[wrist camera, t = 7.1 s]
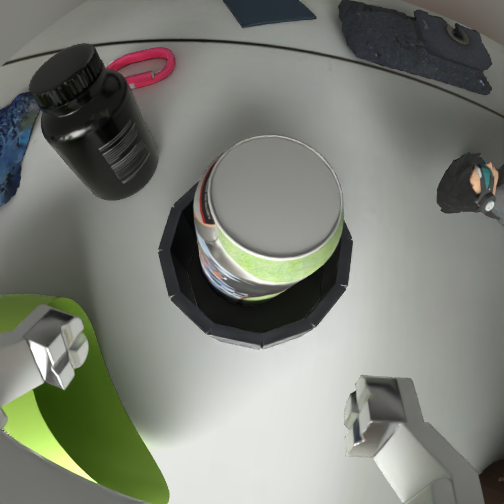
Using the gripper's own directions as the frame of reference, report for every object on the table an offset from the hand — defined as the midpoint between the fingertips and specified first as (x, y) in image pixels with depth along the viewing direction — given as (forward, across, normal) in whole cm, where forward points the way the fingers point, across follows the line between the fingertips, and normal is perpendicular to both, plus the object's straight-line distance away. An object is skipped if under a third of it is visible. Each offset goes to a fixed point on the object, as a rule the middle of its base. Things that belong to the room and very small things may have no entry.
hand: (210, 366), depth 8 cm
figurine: (+22, -26, -4) cm, 34 cm away
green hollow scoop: (+5, +13, +13) cm, 19 cm away
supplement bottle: (+18, +13, 0) cm, 22 cm away
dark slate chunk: (+37, -16, -19) cm, 45 cm away
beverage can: (+14, 0, +4) cm, 14 cm away
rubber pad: (+39, +5, -21) cm, 45 cm away
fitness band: (+27, +16, -9) cm, 33 cm away
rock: (+19, +32, -1) cm, 38 cm away
